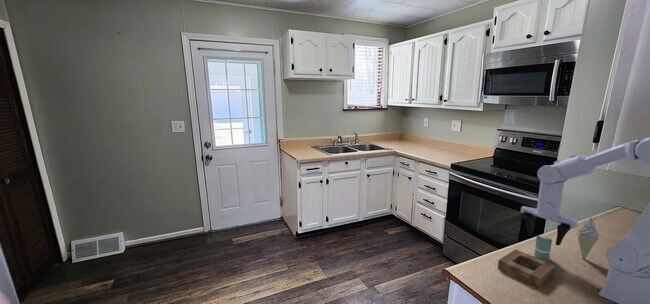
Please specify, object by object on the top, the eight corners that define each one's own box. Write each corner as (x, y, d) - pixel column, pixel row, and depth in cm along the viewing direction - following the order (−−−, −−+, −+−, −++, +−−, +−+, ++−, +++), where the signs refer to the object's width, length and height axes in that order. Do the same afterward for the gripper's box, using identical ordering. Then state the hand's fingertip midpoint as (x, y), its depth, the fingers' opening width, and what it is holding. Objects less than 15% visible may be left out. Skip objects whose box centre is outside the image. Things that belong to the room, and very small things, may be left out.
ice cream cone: (598, 264, 87) (606, 220, 84) (579, 262, 88) (587, 219, 85) (586, 255, 92) (593, 214, 89) (569, 254, 93) (576, 213, 90)
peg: (551, 258, 91) (554, 239, 89) (546, 262, 88) (549, 242, 87) (537, 252, 94) (539, 234, 93) (531, 256, 92) (534, 237, 91)
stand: (554, 274, 82) (555, 265, 82) (538, 287, 77) (540, 278, 76) (514, 257, 91) (515, 249, 91) (497, 268, 86) (498, 259, 85)
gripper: (583, 205, 83) (576, 245, 86) (529, 192, 96) (524, 227, 98) (575, 210, 80) (568, 252, 82) (519, 196, 92) (515, 233, 94)
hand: (543, 239), depth 90 cm, fingers open, 7 cm apart
